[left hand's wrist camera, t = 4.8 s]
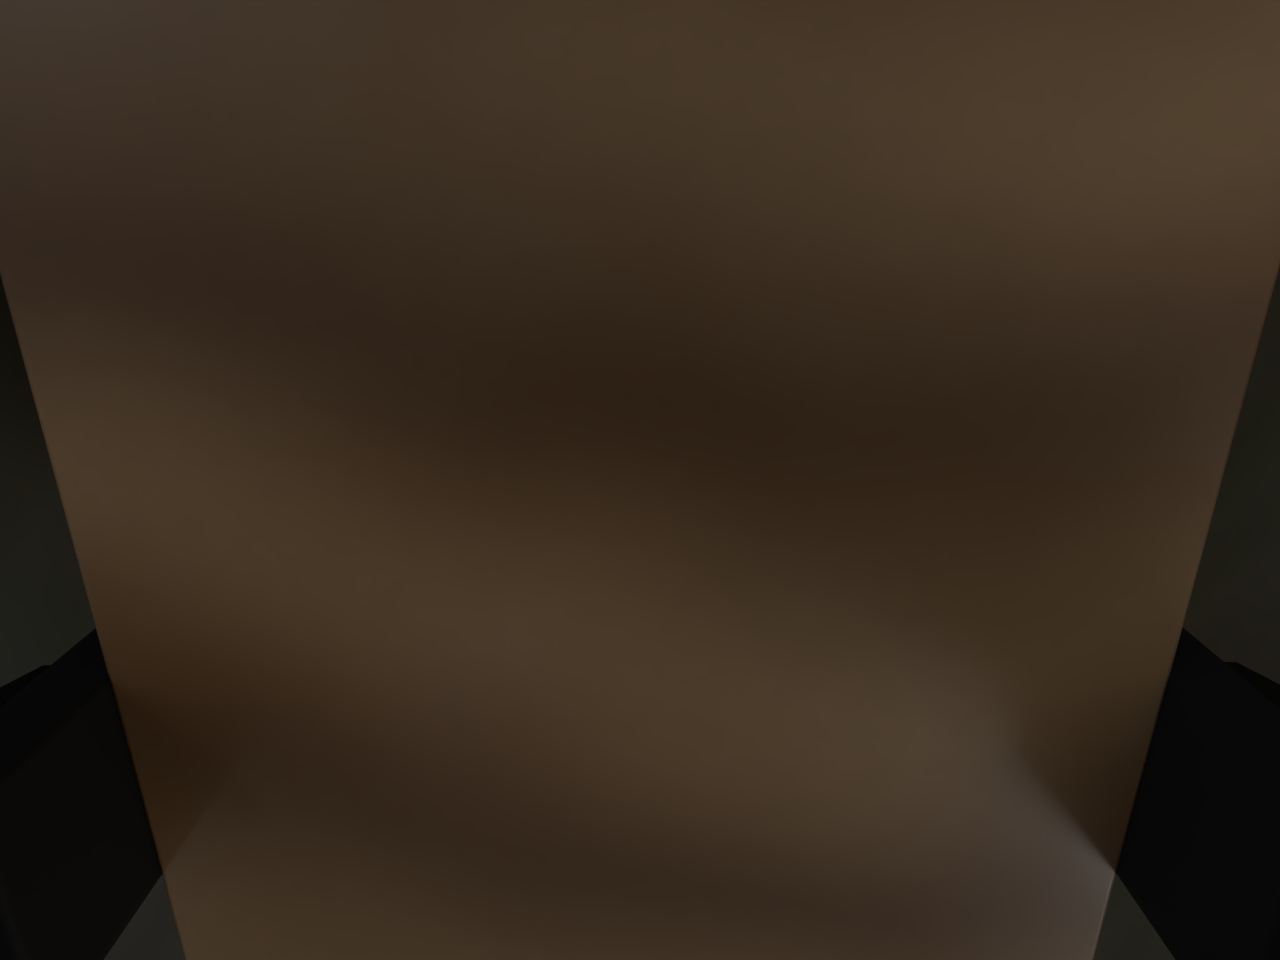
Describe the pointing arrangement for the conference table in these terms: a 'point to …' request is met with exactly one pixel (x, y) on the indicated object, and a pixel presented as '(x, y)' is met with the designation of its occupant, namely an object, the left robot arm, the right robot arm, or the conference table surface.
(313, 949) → the cabinet
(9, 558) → the conference table surface
